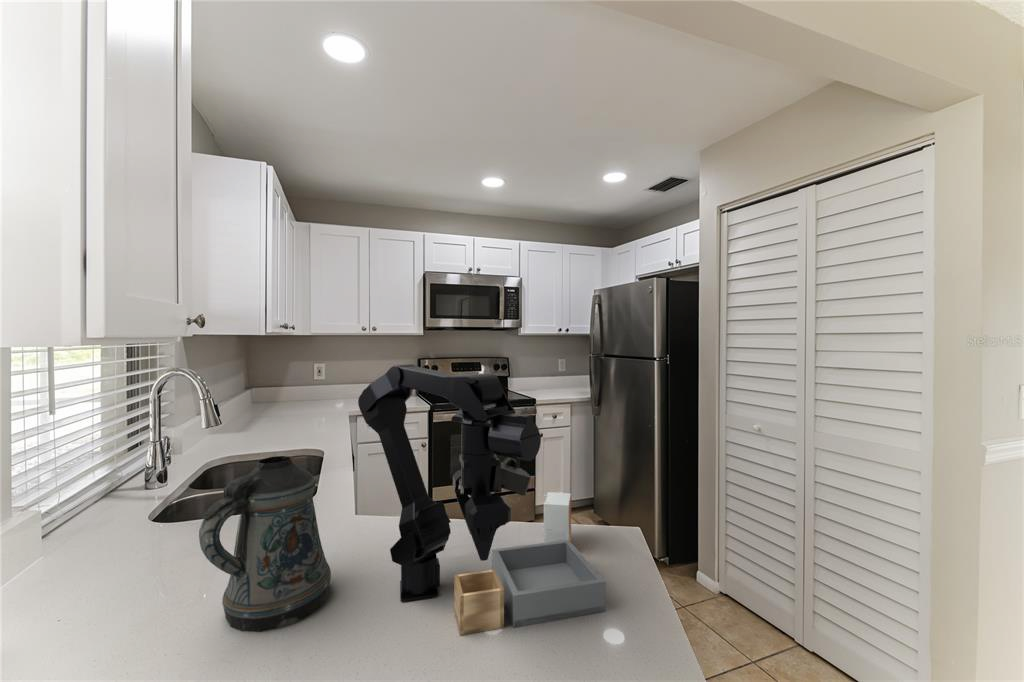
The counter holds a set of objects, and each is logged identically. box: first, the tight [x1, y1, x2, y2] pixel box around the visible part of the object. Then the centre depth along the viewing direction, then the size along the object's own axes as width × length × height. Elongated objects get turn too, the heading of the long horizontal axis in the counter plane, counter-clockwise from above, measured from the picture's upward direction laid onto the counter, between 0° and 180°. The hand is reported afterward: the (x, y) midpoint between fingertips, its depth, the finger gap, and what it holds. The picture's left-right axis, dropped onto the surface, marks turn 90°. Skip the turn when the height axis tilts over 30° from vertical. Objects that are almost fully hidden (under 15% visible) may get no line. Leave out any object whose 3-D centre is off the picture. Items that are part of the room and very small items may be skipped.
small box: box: [543, 491, 572, 543], centre depth 96 cm, size 8×6×10 cm
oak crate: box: [453, 569, 505, 636], centre depth 70 cm, size 7×6×6 cm
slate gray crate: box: [491, 540, 606, 628], centre depth 78 cm, size 16×16×5 cm
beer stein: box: [198, 455, 332, 633], centre depth 74 cm, size 16×19×25 cm
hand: (478, 546), depth 71 cm, fingers open, 9 cm apart
